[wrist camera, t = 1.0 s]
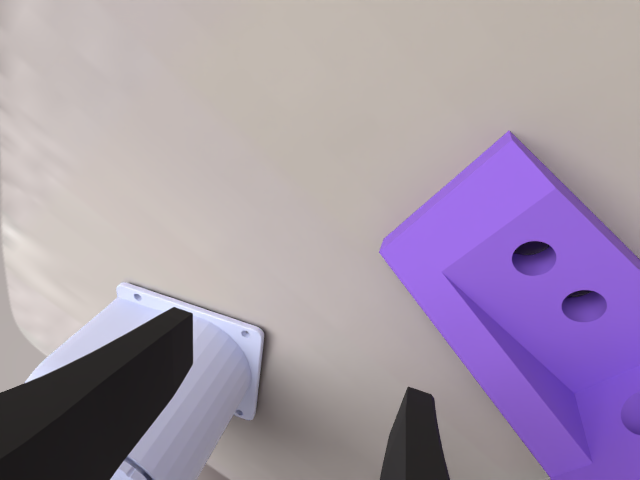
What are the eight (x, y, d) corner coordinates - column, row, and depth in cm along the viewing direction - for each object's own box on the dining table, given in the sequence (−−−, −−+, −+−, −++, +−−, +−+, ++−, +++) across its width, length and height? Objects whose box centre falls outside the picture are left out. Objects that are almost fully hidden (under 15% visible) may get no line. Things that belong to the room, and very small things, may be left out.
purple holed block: (712, 330, 18) (827, 488, 12) (561, 396, 21) (594, 541, 16) (508, 128, 16) (529, 198, 11) (384, 235, 20) (350, 330, 14)
